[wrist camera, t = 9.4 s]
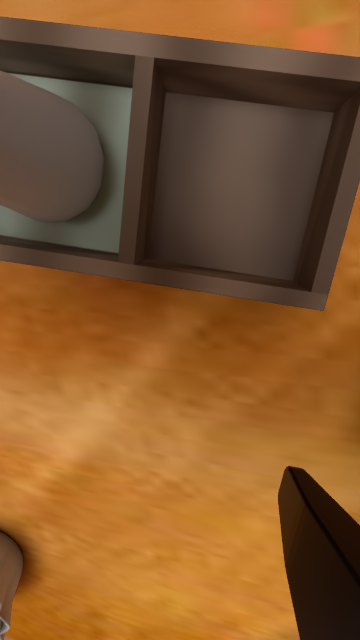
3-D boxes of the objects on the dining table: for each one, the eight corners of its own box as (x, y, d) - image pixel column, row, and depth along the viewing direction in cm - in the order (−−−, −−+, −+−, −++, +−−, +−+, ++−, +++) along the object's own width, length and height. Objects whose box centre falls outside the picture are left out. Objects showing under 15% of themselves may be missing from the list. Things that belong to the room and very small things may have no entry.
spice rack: (346, 104, 17) (392, 61, 13) (299, 293, 20) (323, 311, 15) (-166, 41, 18) (-281, -16, 14) (-141, 225, 21) (-231, 224, 17)
